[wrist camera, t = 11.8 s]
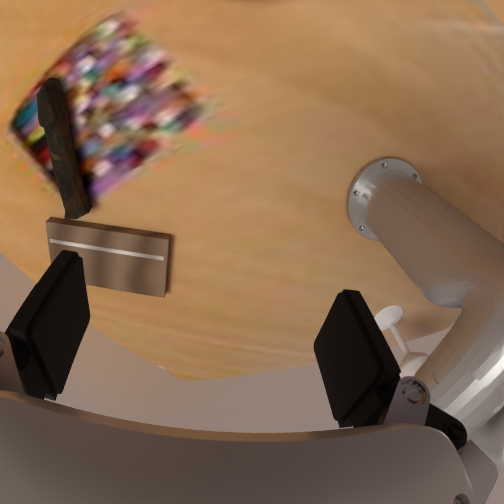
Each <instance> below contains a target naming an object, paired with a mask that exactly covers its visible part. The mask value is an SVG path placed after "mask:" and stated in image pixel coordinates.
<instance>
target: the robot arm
mask: <svg viewBox="0 0 504 504" xmlns="http://www.w3.org/2000/svg"><path fill="white" fill-rule="evenodd" d="M382 164H383V165H382ZM355 190H356V191H355ZM354 191H355V192H354ZM347 213H348V217H349V219H350V222H351V224H352V225H353V227H354V228H355V229H356V230H357V232H358V233H360V234H361V235H362V236H364V237H365V238H368V239H370V240H375V241H380V242H381V243H382V244H383V245H384V247H385V248H386V249H387V250H388V251H389V253H390V254H391V255H392V256H393V258H394V259H395V260H396V261H397V263H398V264H399V265H400V266H401V268H402V269H403V270H404V271H405V273H406V274H407V275H408V277H409V278H410V279H411V280H412V282H413V283H414V284H415V285H416V287H417V288H418V289H419V291H420V292H421V293H422V294H423V295H424V297H425V298H427V299H428V300H429V301H430V302H432V303H434V304H436V305H439V306H443V307H450V308H462V312H461V314H460V316H459V317H458V319H457V320H456V322H455V323H454V325H453V326H452V328H451V329H450V331H449V332H448V333H447V335H446V336H445V337H444V338H443V340H442V341H441V342H440V343H439V345H438V346H437V347H436V348H435V350H434V351H433V352H432V353H431V354H430V355H429V357H428V358H427V359H426V360H425V362H424V363H423V364H422V365H421V366H420V368H419V369H418V370H417V372H416V373H415V375H414V376H406V377H403V378H401V377H400V375H399V374H400V373H401V370H400V368H399V365H398V363H397V361H396V360H395V357H394V355H393V354H392V351H391V350H390V347H389V346H388V344H387V342H386V340H385V338H384V336H383V334H382V332H381V330H380V328H379V326H378V324H377V322H376V321H375V319H374V317H373V315H372V313H371V311H370V309H369V308H368V306H367V304H366V302H365V300H364V299H363V297H362V295H361V293H360V292H359V291H356V290H347V289H345V290H343V291H342V293H339V294H338V295H337V297H336V299H335V301H334V303H333V305H332V307H331V309H330V311H329V313H328V316H327V318H326V320H325V322H324V324H323V326H322V328H321V330H320V332H319V334H318V336H317V338H316V340H315V342H314V352H315V355H316V358H317V362H318V365H319V369H320V372H321V375H322V379H323V382H324V386H325V389H326V393H327V396H328V399H329V403H330V407H331V410H332V414H333V417H334V419H335V420H336V421H338V424H339V427H340V428H344V427H351V426H353V428H347V429H336V430H325V431H312V432H294V433H293V432H292V433H237V432H216V431H203V430H192V429H182V428H174V427H166V426H159V425H152V424H145V423H139V422H134V421H128V420H123V419H118V418H113V417H108V416H104V415H99V414H95V413H91V412H87V411H83V410H79V409H75V408H71V407H67V406H64V405H60V404H57V403H53V402H50V401H47V400H44V398H48V399H51V400H54V401H55V400H56V397H57V394H61V393H62V391H63V389H64V386H65V383H66V380H67V377H68V375H69V372H70V369H71V366H72V363H73V361H74V358H75V356H76V353H77V351H78V348H79V345H80V343H81V340H82V338H83V336H84V333H85V331H86V328H87V326H88V324H89V320H90V310H89V304H88V297H87V290H86V283H85V275H84V266H83V259H82V257H80V256H79V254H78V252H75V251H69V250H62V251H61V252H60V253H59V255H58V256H57V257H56V258H55V260H54V261H53V262H52V264H51V265H50V266H49V268H48V269H47V271H46V272H45V273H44V275H43V276H42V277H41V279H40V280H39V282H38V283H37V284H36V285H35V286H34V288H33V289H32V291H31V292H30V294H29V295H28V297H27V298H26V300H25V301H24V303H23V304H22V306H21V307H20V309H19V310H18V312H17V313H16V315H15V317H14V319H13V320H12V322H11V323H10V325H9V326H8V328H7V330H6V332H5V333H3V332H1V331H0V504H485V502H486V500H487V498H488V496H489V494H490V493H491V491H492V489H493V487H494V484H495V482H496V480H497V477H498V471H500V472H504V243H502V242H501V241H500V240H498V239H497V238H496V237H494V236H493V235H492V234H490V233H489V232H488V231H486V230H485V229H484V228H482V227H481V226H480V225H478V224H477V223H476V222H475V221H473V220H472V219H471V218H469V217H468V216H467V215H465V214H464V213H463V212H461V211H460V210H458V209H457V208H456V207H454V206H453V205H452V204H450V203H449V202H447V201H446V200H444V199H443V198H442V197H440V196H439V195H437V194H436V193H434V192H433V191H431V190H430V189H428V188H427V187H425V186H424V185H423V183H422V180H421V177H420V175H419V173H418V172H417V171H416V169H415V168H414V167H413V166H411V165H410V164H409V163H407V162H405V161H404V160H401V159H398V158H393V157H386V158H381V159H377V160H375V161H373V162H371V163H369V164H368V165H366V166H365V167H364V168H363V169H362V170H361V171H360V172H359V173H358V174H357V175H356V177H355V178H354V180H353V182H352V183H351V186H350V189H349V191H348V196H347Z"/></svg>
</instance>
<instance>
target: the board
mask: <svg viewBox="0 0 504 504" xmlns="http://www.w3.org/2000/svg"><path fill="white" fill-rule="evenodd" d="M46 229H47V237H48V245H49V252H50V259H51V264H52V262H53V261H54V260H55V258H56V257H57V256H58V255H59V253H60V252H61V251H62V250H69V251H75V252H78V254H79V256H80V257H82V259H83V266H84V275H85V283H86V284H87V285H92V286H97V287H103V288H108V289H114V290H120V291H125V292H131V293H137V294H144V295H150V296H156V297H163V298H165V294H166V283H167V269H168V256H169V245H170V234H164V233H157V232H150V231H144V230H137V229H130V228H123V227H116V226H109V225H102V224H95V223H88V222H81V221H74V220H67V219H60V218H53V217H50V218H49V219H48V220H47V221H46Z"/></svg>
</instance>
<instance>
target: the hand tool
mask: <svg viewBox="0 0 504 504" xmlns="http://www.w3.org/2000/svg"><path fill="white" fill-rule="evenodd" d="M37 105H38V120H39V124H40V126H42V127H44V131H45V134H46V138H47V142H48V148H49V153H50V157H51V161H52V166H53V170H54V174H55V177H56V181H57V185H58V188H59V191H60V194H61V198H62V201H63V205H64V208H65V219H78V218H79V217H81V216H84V215H85V214H87V213H89V212H90V210H91V208H92V205H91V204H90V203H89V202H88V194H86V193H85V190H84V187H83V182H82V178H81V175H80V172H79V168H78V164H77V161H78V160H77V158H76V155H75V151H74V146H73V143H72V138H71V133H70V128H69V123H68V117H69V109H68V105H67V102H66V99H65V96H64V94H63V91H62V89H61V86H60V84H59V82H58V80H57V79H56V78H50V79H48V80H47V81H46V82H45V83H44V84H43V85H42V87H41V89H40V90H39V92H38V93H37Z"/></svg>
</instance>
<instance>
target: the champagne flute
mask: <svg viewBox="0 0 504 504" xmlns="http://www.w3.org/2000/svg"><path fill="white" fill-rule="evenodd" d="M402 314H403V310H402V308H401V307H400V306H398V305H391V306H388V307H386V308H384V309H382V310H381V311H380V312H379V313H377V315H376V316H375V317H374V319H375V321H376V322H377V324H378V326H379V328H380V330H381V331H383V330H387V329H389V328H390V329H391V331H392V333H393V335H394V337H395V338H396V340H397V342H398V344H399V346H400V348H401V349H402V351H403V353H404V355H405V357H404V358H403V360H402V362H401V365H400V367H399V368H400V370H401V373H400V374H399V375H400V377H401V378H403V377H406V376H414V375H415V373H416V372H417V370H418V369H419V368H420V366H421V365H422V364H423V363H424V362H425V360H426V359H427V358H428V357H429V355H428V354H425V353H421V352H410V351H409V349H408V347H407V345H406V343H405V341H404V340H403V338H402V336H401V334H400V333H399V331H398V329H397V327H396V326H395V324H397V323H398V321H399V320H400V319H401V317H402Z"/></svg>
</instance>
